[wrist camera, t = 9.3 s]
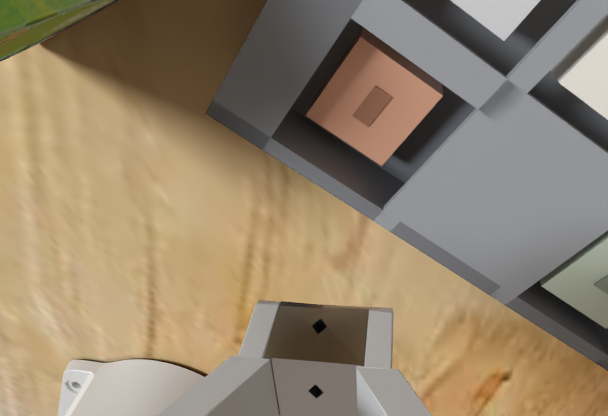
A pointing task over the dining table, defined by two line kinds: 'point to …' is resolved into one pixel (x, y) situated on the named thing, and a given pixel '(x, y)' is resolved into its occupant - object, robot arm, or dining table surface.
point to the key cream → (588, 68)
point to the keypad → (447, 140)
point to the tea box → (40, 20)
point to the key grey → (498, 13)
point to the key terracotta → (374, 98)
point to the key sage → (584, 281)
